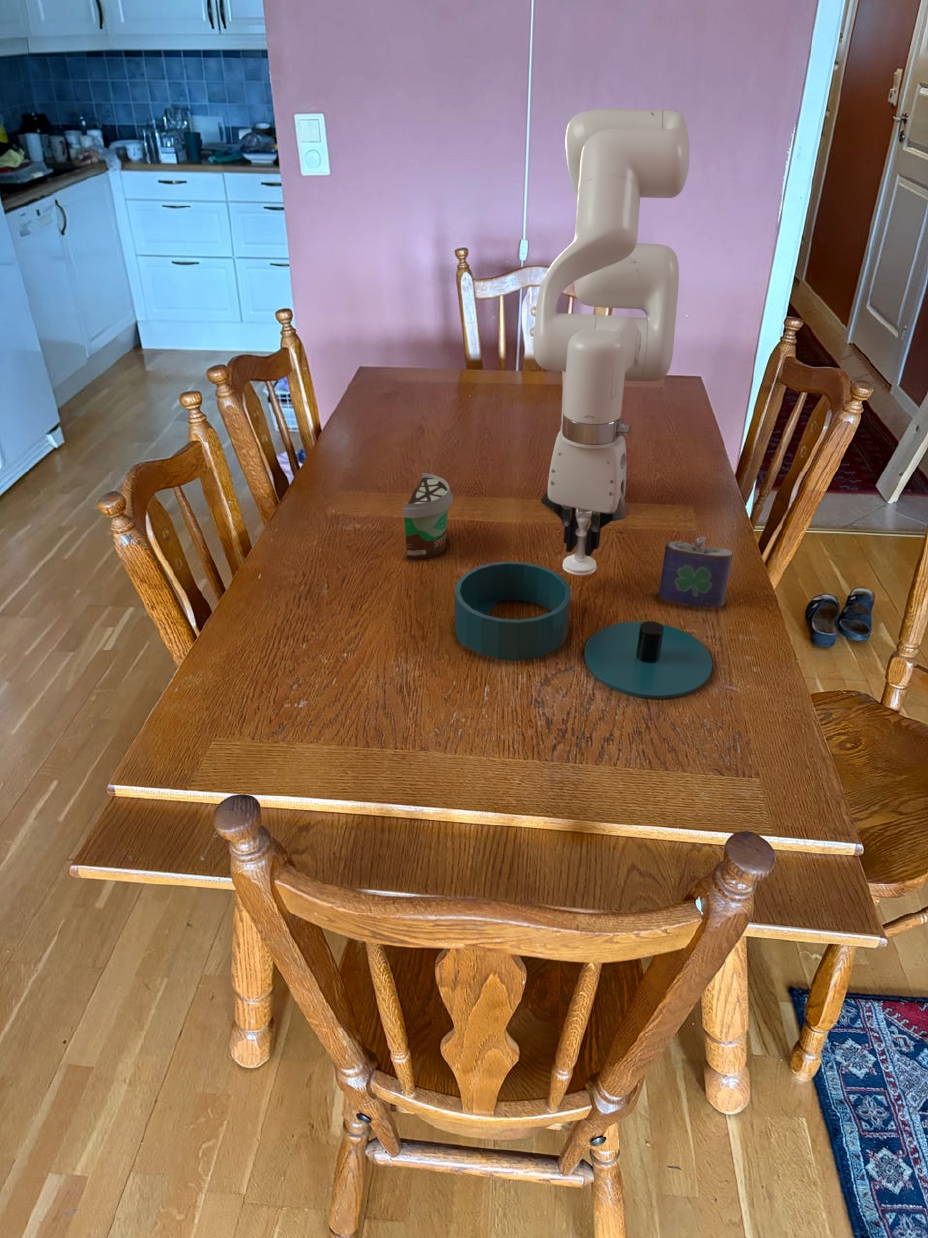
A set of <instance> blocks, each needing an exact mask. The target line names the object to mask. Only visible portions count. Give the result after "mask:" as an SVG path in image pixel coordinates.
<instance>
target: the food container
mask: <svg viewBox="0 0 928 1238" xmlns="http://www.w3.org/2000/svg"><path fill="white" fill-rule="evenodd" d="M420 475H421V476H420V478H421V479H420V481H419V483H418V485H417V486H416V488H414V490H413V491H412V494H411V496H410V498H409V501H408V502H407V503H403V508H402V518H403V519H404V533H405V546H406V547H405V548H406V560H414V561H415V560H424V559H429V558H433V557H436V556H437V555H439V554H441V553H442V552H443V551H444V550H445V549H446V546H447V545H446V543H447V529H448V516H449V508H450V507H451V506H452V504H453V500H454V499H453V498H454V497H453V494H452V489H451V488H450V485H449V483H448V482H447V481H446V480H445V479H444V478H442V477H440V476H438V475H435V474H433V473H426V472H421V474H420Z"/></svg>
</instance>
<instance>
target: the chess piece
mask: <svg viewBox="0 0 928 1238" xmlns="http://www.w3.org/2000/svg"><path fill="white" fill-rule="evenodd" d="M578 512H582V514H579V515H577V517H576V519H577V522H578V527H579V528H578V529H576V530H575V534H576V535H577V536H578V541H577V545H576V546H575V551H574V553H573V554H570V555H568V556H566V557H565V558H564V559H563V560H562V564H561V566H562V569H563V571H565V572H567V573H568V574H570V575H575V576H587V575H591V574H593V573H595V572H596V570H597V562H596V560H595V558H593V557H592V556H586V555H585V544H586V533H587V530H588V529H589V528H588V526H589V525H590V523H591V517H590V516H589V515H587V514H586V512H590V511H589V510H584V509H578Z"/></svg>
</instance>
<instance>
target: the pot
mask: <svg viewBox="0 0 928 1238" xmlns="http://www.w3.org/2000/svg"><path fill="white" fill-rule="evenodd" d="M571 591H572V589H571V587H570V585H569V583H568V582H567V581H566V579H565V578H564V577H562V576H561V575H560V574H559V573H557V572H556V571H555V570H552V569H550V568H547V567H545V566H542V565H540V564H539V565H538V564H534V563H530V562H524V561H509V560H508V561H506V560H505V561H498V562H490V563H486V564H483V565H480V566H479V565H478V566H477V567H474V568H472V569H470V570H469V571H467V572H465V573H464V574H462V576H461V577H460V578H459V579H458V580H457V582H456V583H455V589H454V631H455V636H456V639H457V640H458V642H459V643H460V645H461V646H462V647H466V648H467V649H469V650H471V651H473V652H475V653H476V654H479V655H480V656H484V657H487V658H492V659H496V660H501V661H503V660H504V661H525V660H533V659H538V658H539V657H540V658H541V657H543V656H547V655H549V654H551V653H553V652H554V651H555V650H557V649H559V648H560V647H561V646H562V645H563V644H564V642H565V641H566V639H567V638H568V637H569V635H568V634H569V624H570V612H571V601H572V600H571V598H572V597H571V596H572V594H571ZM507 600H509V601H523V602H528V603H530V604H531V603H532V604H535V605H538V606H541V607H543V608H545V609H547V610H549V611H550V612H548V613H545V614H542V615H538V616H535V617H530V618H522V619H513V618H500V617H496V616H491V615H489V614H490V613H491V611H492V610H493V608H494V607H495V606H496V604H498V602H499V601H507Z"/></svg>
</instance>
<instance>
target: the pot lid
mask: <svg viewBox="0 0 928 1238" xmlns="http://www.w3.org/2000/svg"><path fill="white" fill-rule="evenodd" d="M583 658H584V663H585V666H586V667H587V669H588V671H589V672H590V673H591V675H593V677H594V678H595V679H597V680H598V681H599V682H600V683H601V684H603V685H605V686H607V687H608V688H610V689H612V690H614V691H616V692H619V693H622V694H625V695H627V696H631V697H636V698H641V699H648V700H649V699H650V700H667V699H676V698H681V697H684V696H687V695H690V694H693V693H694V692H696V691H698V690H699V689H701V688H702V687H704V685H706V683H707V682H708V681H709V679H710V678H711V675H712V671H713V660H712V656H711V654H710V652H709V650H708V649H707V648H706V646H705V645H704V644H703V643H702V642H701V641H699V640H698V639H697V638H696V637H694V636H693V635H692V634H689V633H687V632H686V631H683V630H682V629H679V628H676V627H673V626H671V625H667V624H663V623H659V622H657V621H652V620H648V621H623V622H618V623H614V624H610V625H607V626H605V627H603V628H601V629H600V630H598V631H596V632H595V633H593V634H592V635H591V636H590V637H589V639H588V640H587V641H586V644H585V646H584V652H583Z"/></svg>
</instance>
